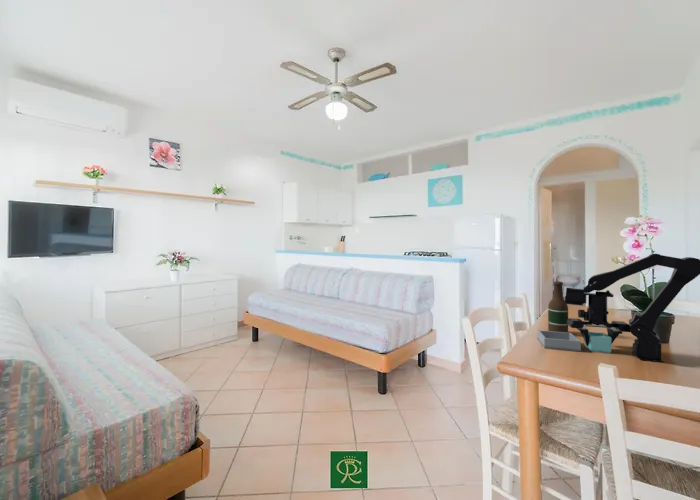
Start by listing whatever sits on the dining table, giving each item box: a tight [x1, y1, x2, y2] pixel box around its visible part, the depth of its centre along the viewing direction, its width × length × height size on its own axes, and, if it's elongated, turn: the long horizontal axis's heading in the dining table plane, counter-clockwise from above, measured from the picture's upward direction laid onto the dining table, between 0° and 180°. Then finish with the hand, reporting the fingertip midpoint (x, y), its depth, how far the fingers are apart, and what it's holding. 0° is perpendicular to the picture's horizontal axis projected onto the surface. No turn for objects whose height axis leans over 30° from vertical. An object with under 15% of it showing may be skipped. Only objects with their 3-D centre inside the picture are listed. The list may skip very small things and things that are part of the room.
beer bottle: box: [547, 280, 569, 333], centre depth 140 cm, size 8×8×24 cm
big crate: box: [537, 329, 582, 352], centre depth 123 cm, size 12×12×4 cm
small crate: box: [584, 331, 612, 354], centre depth 117 cm, size 6×6×6 cm
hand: (597, 346), depth 117 cm, fingers closed on small crate, 6 cm apart
